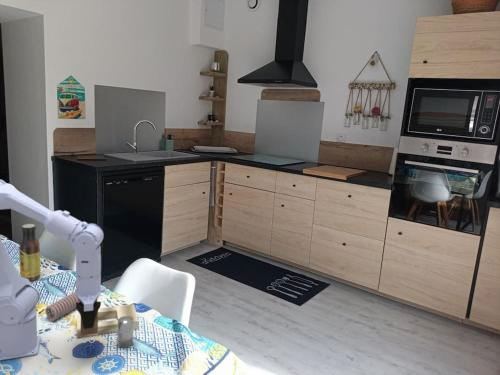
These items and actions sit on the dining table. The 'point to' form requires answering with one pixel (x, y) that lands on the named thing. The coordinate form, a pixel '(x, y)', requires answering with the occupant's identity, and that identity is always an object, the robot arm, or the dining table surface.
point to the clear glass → (125, 332)
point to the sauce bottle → (29, 254)
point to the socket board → (108, 314)
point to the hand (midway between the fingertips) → (88, 322)
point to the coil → (61, 307)
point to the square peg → (90, 330)
